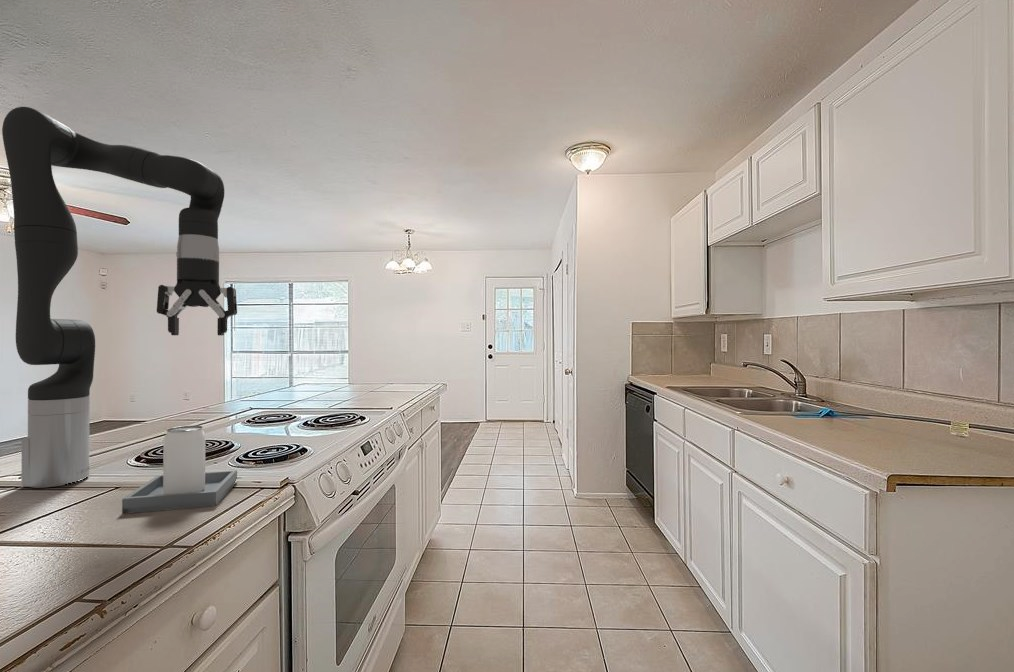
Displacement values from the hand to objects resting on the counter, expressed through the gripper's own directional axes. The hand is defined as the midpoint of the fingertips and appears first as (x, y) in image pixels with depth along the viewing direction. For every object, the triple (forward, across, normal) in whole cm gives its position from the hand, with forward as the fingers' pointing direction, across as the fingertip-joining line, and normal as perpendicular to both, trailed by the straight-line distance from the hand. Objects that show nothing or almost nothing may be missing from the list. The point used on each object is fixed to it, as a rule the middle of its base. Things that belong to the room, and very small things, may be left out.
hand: (198, 335), depth 101 cm
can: (+30, -2, +13) cm, 32 cm away
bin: (+30, -2, +13) cm, 33 cm away
